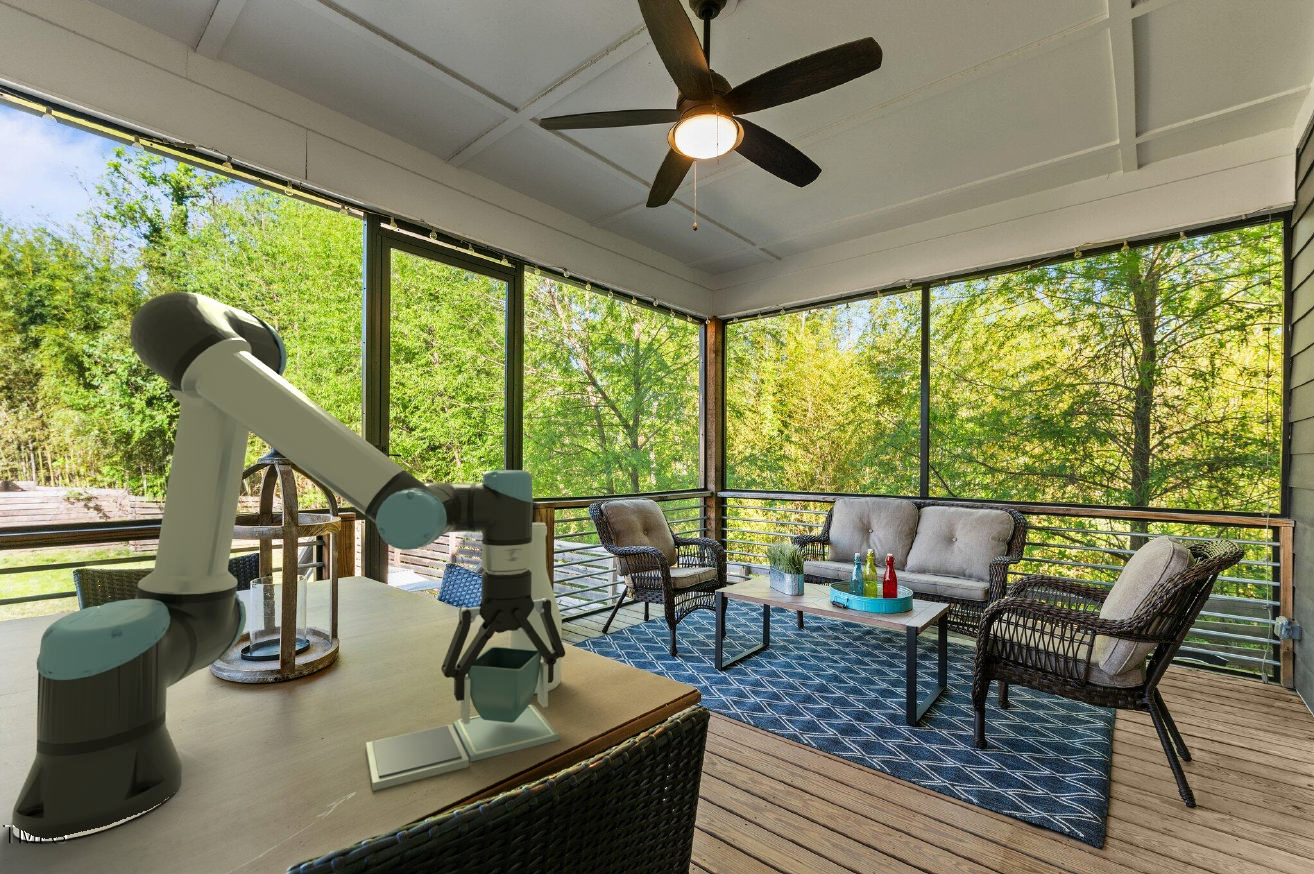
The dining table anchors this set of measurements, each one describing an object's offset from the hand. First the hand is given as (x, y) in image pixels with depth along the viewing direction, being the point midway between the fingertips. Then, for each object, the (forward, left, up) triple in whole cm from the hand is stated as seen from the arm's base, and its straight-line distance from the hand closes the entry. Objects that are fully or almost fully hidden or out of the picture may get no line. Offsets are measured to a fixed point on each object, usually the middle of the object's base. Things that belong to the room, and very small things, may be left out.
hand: (505, 711), depth 92 cm
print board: (0, 0, -3) cm, 3 cm away
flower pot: (0, 0, -1) cm, 1 cm away
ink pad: (-13, -1, -3) cm, 13 cm away
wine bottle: (+10, +16, -4) cm, 19 cm away
